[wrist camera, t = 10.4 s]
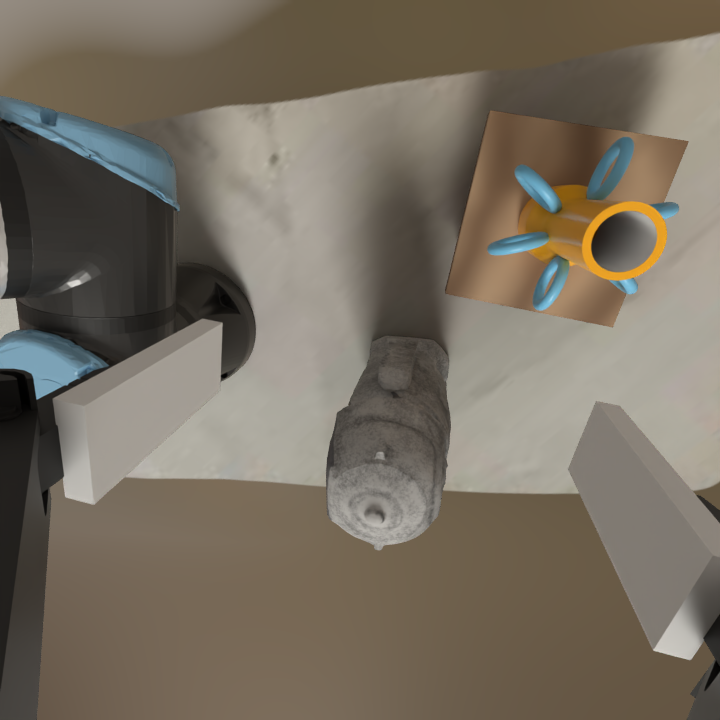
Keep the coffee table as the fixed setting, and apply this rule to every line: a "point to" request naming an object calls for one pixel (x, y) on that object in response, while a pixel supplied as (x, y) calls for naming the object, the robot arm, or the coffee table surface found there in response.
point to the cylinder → (587, 228)
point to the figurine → (391, 444)
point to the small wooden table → (508, 198)
